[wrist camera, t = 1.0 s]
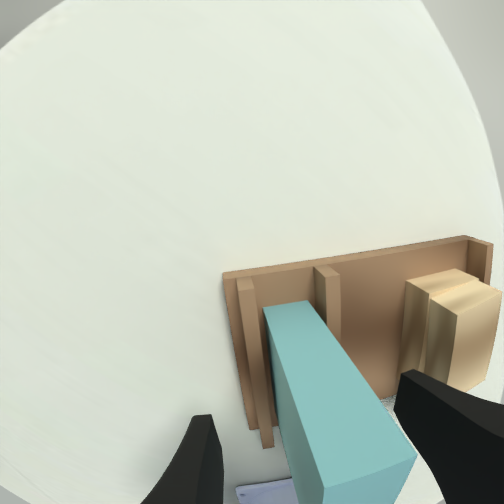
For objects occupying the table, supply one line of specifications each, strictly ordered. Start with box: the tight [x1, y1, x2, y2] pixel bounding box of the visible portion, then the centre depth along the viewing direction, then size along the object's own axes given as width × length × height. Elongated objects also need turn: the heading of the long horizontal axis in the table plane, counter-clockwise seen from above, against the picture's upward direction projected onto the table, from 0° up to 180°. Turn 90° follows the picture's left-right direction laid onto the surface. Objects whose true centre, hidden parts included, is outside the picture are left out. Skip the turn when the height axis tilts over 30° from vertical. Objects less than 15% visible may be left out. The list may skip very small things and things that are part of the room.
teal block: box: [263, 300, 418, 504], centre depth 9 cm, size 6×2×9 cm, turn 7°
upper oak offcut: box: [424, 279, 502, 392], centre depth 11 cm, size 5×3×2 cm, turn 12°
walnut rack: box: [223, 235, 493, 449], centre depth 14 cm, size 9×14×3 cm, turn 97°
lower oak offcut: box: [396, 268, 479, 380], centre depth 13 cm, size 6×4×2 cm, turn 7°
